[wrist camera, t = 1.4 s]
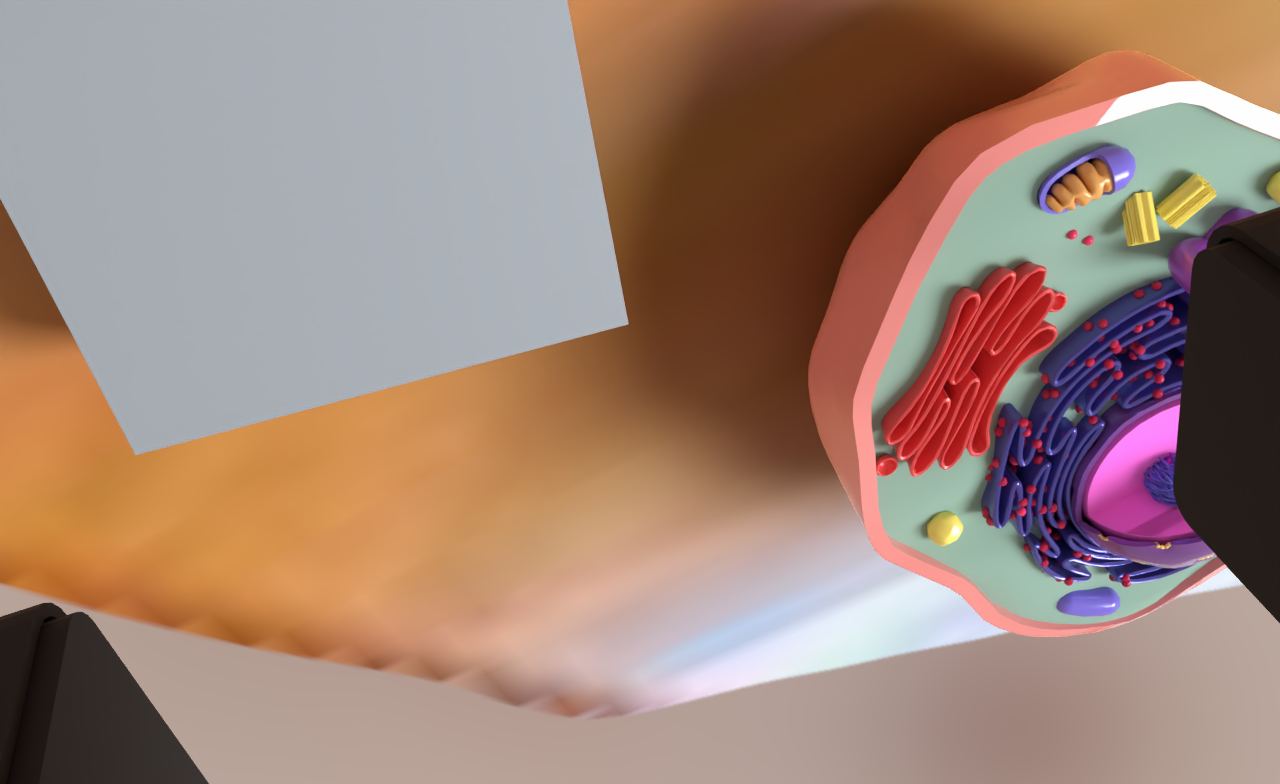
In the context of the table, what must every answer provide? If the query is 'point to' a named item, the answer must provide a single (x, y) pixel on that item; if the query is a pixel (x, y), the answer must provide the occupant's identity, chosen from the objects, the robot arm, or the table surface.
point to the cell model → (1039, 343)
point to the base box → (300, 195)
